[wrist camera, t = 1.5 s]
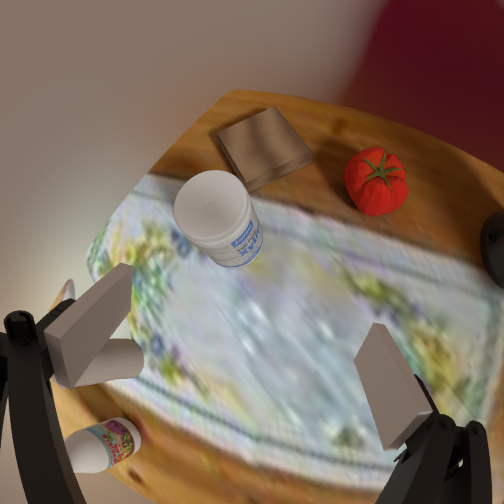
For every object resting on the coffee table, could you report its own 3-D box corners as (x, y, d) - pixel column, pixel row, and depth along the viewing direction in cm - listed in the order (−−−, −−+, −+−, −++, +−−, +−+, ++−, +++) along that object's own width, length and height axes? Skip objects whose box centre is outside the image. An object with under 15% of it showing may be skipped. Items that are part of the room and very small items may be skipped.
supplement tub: (262, 271, 45) (244, 243, 31) (204, 268, 47) (165, 241, 33) (265, 213, 47) (251, 166, 33) (211, 213, 49) (178, 170, 35)
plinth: (277, 117, 53) (275, 104, 49) (312, 162, 48) (312, 149, 45) (219, 145, 53) (213, 132, 49) (247, 194, 49) (243, 183, 45)
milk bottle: (121, 454, 39) (52, 488, 20) (103, 420, 42) (28, 442, 23) (149, 448, 39) (80, 489, 20) (130, 412, 42) (53, 438, 23)
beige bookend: (85, 346, 46) (5, 342, 27) (139, 335, 45) (56, 331, 26) (92, 381, 44) (13, 389, 25) (148, 375, 43) (67, 391, 24)
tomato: (351, 160, 48) (358, 130, 39) (405, 184, 45) (421, 158, 36) (330, 207, 46) (335, 181, 38) (389, 234, 43) (406, 214, 35)
